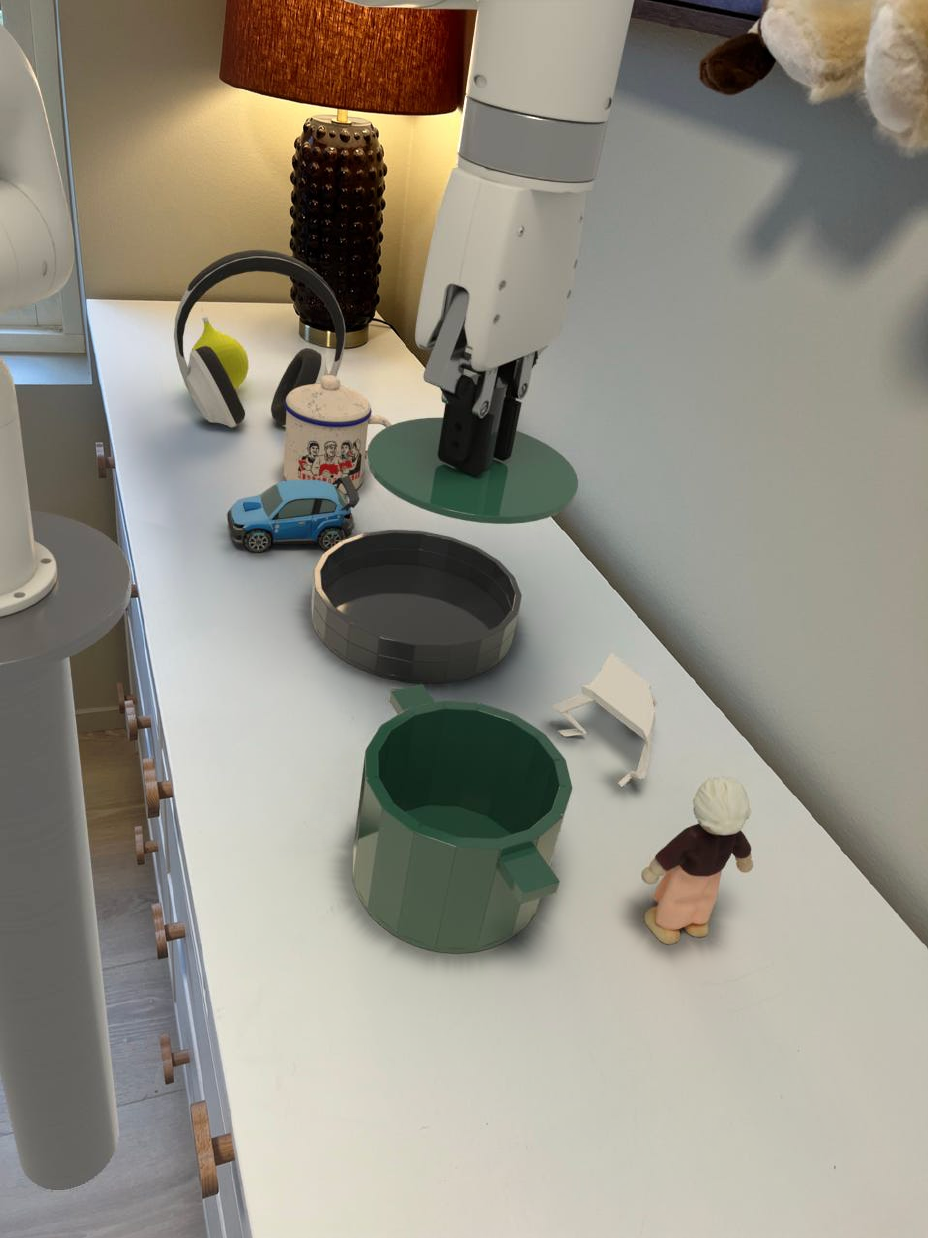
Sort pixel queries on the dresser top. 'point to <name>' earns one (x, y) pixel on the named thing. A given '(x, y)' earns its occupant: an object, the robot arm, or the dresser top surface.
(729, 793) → the grandmother figurine
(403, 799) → the pot
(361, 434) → the teacup with lid
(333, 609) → the pan
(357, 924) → the dresser top surface
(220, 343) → the yellow-green teardrop shape
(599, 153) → the robot arm
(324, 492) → the toy car
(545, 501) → the lid
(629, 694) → the origami figure
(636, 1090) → the dresser top surface
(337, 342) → the headphones
